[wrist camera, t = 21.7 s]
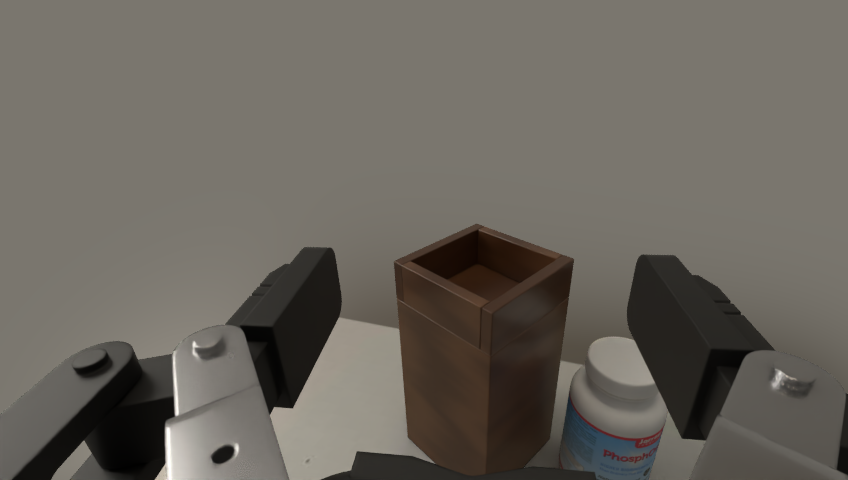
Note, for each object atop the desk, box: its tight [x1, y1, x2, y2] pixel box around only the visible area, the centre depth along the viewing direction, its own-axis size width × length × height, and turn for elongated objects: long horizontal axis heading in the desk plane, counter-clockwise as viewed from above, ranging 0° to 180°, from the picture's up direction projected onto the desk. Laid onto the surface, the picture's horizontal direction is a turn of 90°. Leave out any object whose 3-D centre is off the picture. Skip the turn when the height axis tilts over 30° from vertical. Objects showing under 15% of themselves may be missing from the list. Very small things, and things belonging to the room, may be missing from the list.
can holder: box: [394, 224, 574, 476], centre depth 32 cm, size 8×8×17 cm
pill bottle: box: [559, 337, 667, 480], centre depth 30 cm, size 6×6×11 cm
